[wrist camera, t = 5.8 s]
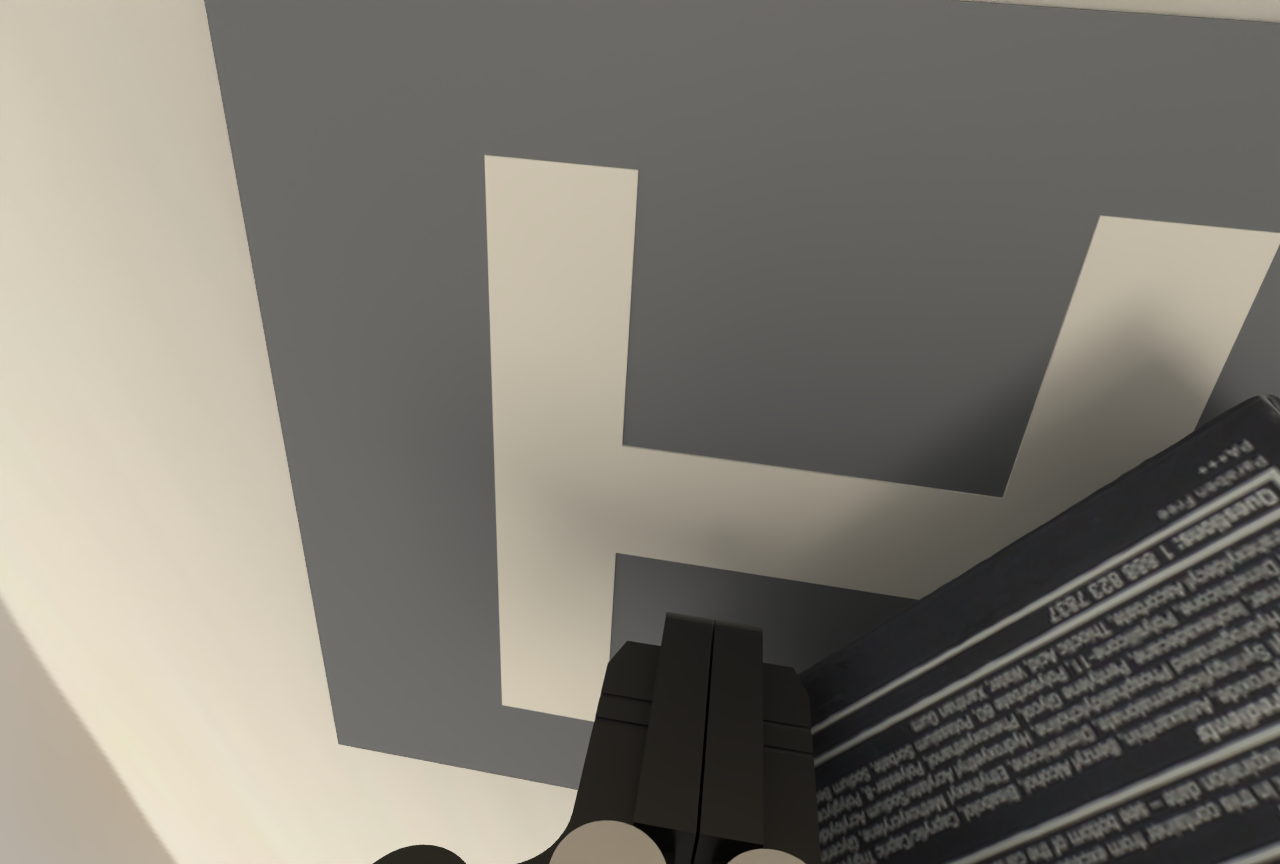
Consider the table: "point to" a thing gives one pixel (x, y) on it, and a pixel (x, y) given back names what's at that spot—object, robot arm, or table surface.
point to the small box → (1078, 682)
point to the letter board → (719, 315)
